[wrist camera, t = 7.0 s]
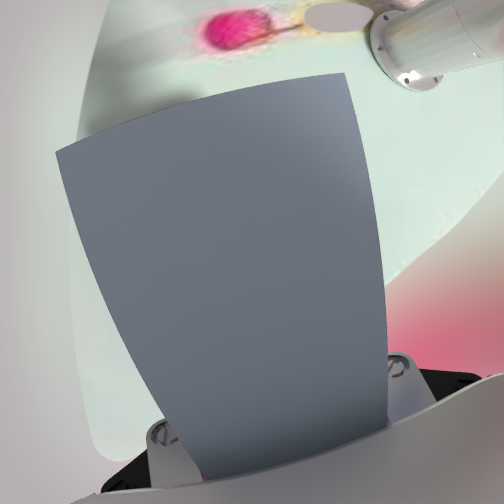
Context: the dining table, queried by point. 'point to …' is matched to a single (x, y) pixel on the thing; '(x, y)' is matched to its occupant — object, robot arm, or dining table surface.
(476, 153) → the dining table surface
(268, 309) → the panel
